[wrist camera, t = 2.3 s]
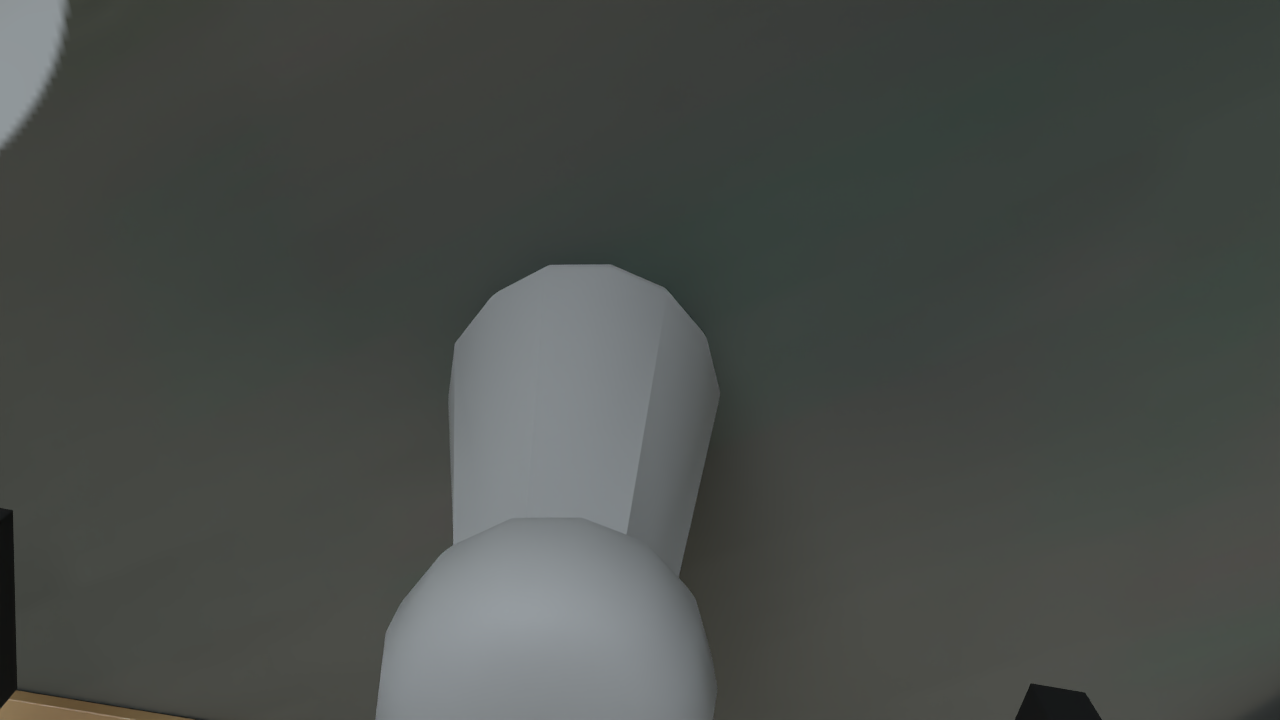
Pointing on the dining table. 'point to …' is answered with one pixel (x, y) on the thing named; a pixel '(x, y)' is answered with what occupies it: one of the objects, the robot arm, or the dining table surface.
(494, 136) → the dining table surface
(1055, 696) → the robot arm
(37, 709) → the placemat
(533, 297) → the salt shaker
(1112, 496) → the dining table surface
